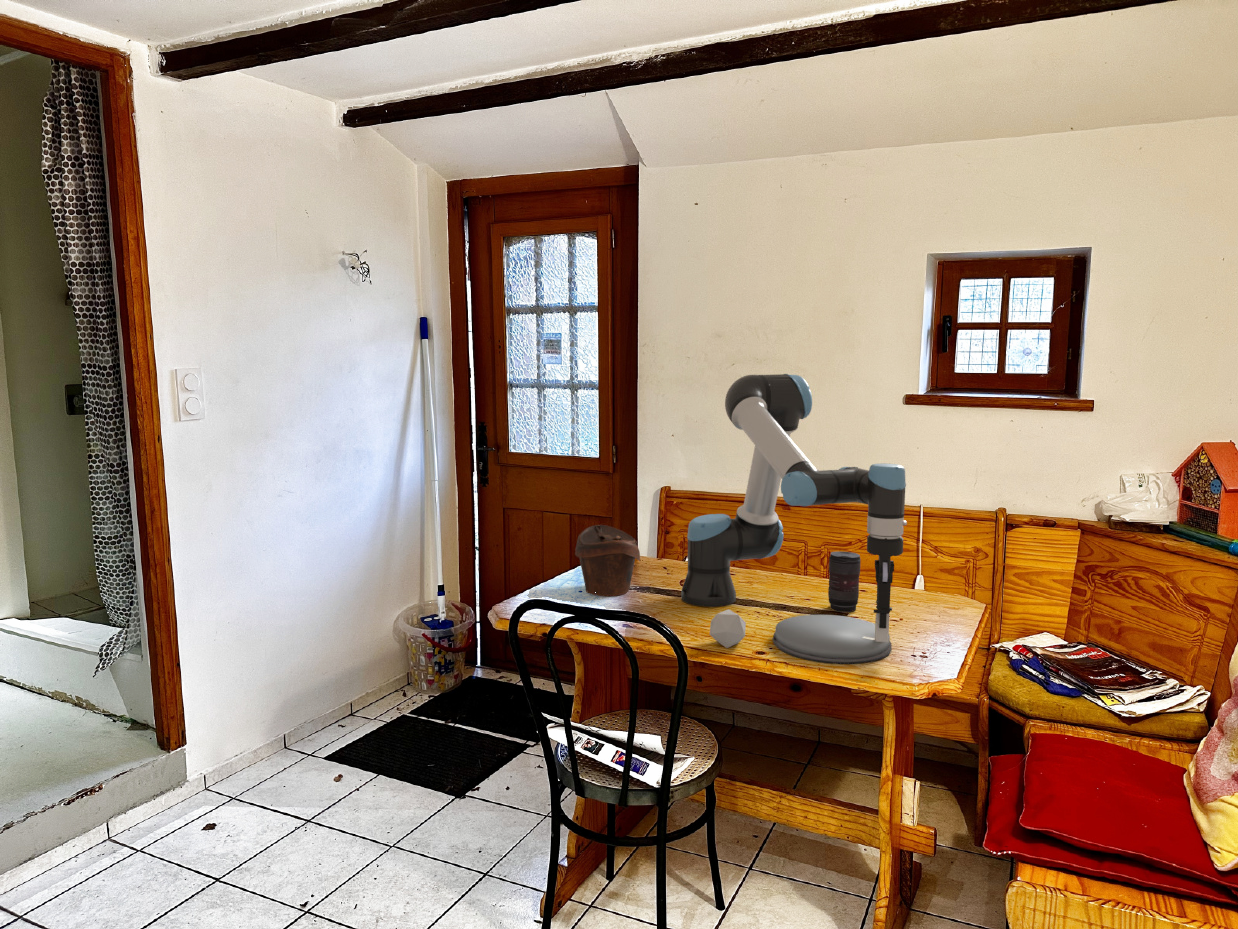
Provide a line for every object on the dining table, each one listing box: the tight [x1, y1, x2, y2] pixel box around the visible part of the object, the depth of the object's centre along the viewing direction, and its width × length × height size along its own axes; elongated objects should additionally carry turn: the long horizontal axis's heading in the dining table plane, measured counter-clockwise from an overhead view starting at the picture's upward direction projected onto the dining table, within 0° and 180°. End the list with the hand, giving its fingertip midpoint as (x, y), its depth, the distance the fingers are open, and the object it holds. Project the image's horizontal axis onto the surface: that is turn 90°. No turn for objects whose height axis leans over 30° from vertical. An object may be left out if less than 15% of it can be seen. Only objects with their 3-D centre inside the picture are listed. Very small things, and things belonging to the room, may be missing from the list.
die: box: [709, 608, 747, 649], centre depth 200 cm, size 8×9×10 cm
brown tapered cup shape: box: [574, 524, 641, 597], centre depth 245 cm, size 18×20×18 cm
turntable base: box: [772, 632, 893, 665], centre depth 201 cm, size 27×27×1 cm
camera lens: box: [827, 550, 862, 613], centre depth 228 cm, size 8×8×15 cm
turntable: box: [774, 614, 891, 659], centre depth 200 cm, size 26×26×8 cm
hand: (881, 640), depth 187 cm, fingers closed
